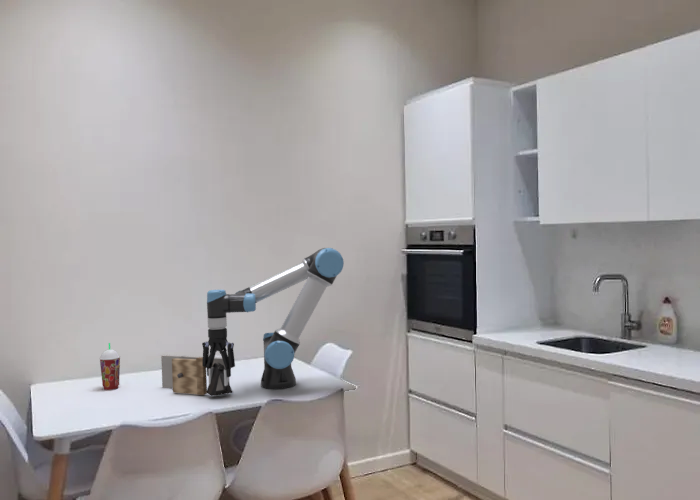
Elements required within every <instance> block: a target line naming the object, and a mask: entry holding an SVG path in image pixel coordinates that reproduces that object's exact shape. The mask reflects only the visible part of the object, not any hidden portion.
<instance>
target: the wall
mask: <svg viewBox="0 0 700 500" xmlns="http://www.w3.org/2000/svg"><path fill="white" fill-rule="evenodd" d="M160 356H161V357H160V358H161V383H162V385H161V386H162V388H163V389H173V379H172V359H174V358H175V359H195V360H196V358H198V357H199V356H197V355H196V356H194V355H177V354H176V355H175V354H174V355H170V354H169V355H168V354H162V355H160ZM217 362H218V363H220V364H222V365H223V366H224V368H225V365H224V362H223V359H222V358H218V357H214V361H213V364H214V363H217ZM218 363H217V364H218ZM212 366H213V365H212ZM211 368H212V367H211ZM218 368H219V367H218ZM225 369H226V368H225ZM219 390H223V386H222V382H221V379H220V376H219V379H218V384H217V388H216V391H219Z"/></svg>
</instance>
